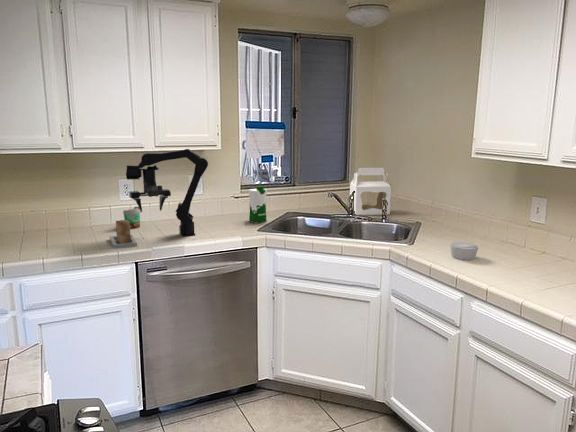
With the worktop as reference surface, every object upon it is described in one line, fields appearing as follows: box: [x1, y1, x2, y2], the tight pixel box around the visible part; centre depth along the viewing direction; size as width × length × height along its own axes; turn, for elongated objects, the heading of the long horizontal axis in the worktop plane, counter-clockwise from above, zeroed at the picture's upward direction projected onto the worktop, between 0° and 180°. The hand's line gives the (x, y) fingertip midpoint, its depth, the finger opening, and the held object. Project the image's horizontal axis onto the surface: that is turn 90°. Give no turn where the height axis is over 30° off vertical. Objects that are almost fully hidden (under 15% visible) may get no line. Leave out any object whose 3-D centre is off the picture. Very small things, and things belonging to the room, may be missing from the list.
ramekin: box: [449, 241, 479, 261], centre depth 205 cm, size 11×11×5 cm
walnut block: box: [115, 219, 131, 244], centre depth 220 cm, size 4×4×11 cm
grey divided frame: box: [109, 233, 138, 249], centre depth 224 cm, size 10×18×3 cm, turn 25°
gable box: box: [349, 167, 392, 216], centre depth 300 cm, size 22×13×28 cm, turn 100°
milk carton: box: [247, 185, 268, 223], centre depth 273 cm, size 9×9×20 cm
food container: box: [122, 206, 142, 230], centre depth 256 cm, size 12×6×10 cm, turn 168°
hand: (151, 211), depth 237 cm, fingers open, 9 cm apart
